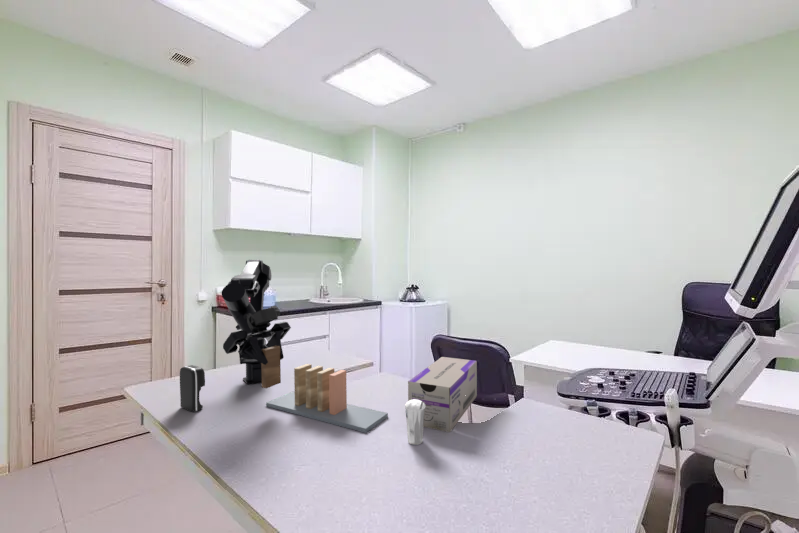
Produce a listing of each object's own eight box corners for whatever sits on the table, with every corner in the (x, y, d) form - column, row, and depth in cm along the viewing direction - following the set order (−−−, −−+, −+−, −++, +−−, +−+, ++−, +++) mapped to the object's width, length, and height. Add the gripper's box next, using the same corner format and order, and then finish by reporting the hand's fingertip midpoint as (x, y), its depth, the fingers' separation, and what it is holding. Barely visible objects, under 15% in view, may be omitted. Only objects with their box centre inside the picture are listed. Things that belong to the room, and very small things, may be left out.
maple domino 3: (317, 410, 99) (317, 372, 98) (330, 404, 103) (329, 367, 103) (322, 412, 98) (321, 373, 98) (334, 405, 102) (334, 368, 102)
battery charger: (207, 408, 103) (206, 366, 103) (193, 413, 100) (192, 370, 100) (193, 403, 107) (192, 362, 107) (179, 407, 104) (178, 366, 103)
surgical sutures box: (450, 432, 89) (450, 387, 88) (408, 424, 93) (408, 381, 93) (476, 397, 111) (476, 360, 111) (442, 391, 116) (441, 356, 115)
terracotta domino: (329, 413, 97) (329, 374, 96) (341, 406, 101) (341, 369, 101) (334, 415, 96) (334, 375, 96) (346, 408, 100) (346, 370, 100)
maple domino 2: (306, 407, 101) (305, 370, 100) (318, 401, 105) (318, 365, 105) (310, 409, 100) (310, 371, 100) (323, 402, 104) (322, 366, 104)
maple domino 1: (294, 405, 103) (294, 368, 102) (307, 398, 107) (307, 363, 107) (299, 406, 102) (298, 369, 102) (312, 399, 106) (311, 364, 106)
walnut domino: (261, 387, 100) (261, 349, 99) (276, 381, 104) (275, 345, 104) (266, 388, 99) (265, 350, 99) (280, 382, 103) (280, 346, 103)
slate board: (266, 406, 104) (266, 402, 104) (292, 394, 113) (292, 391, 113) (365, 432, 88) (365, 428, 88) (387, 416, 97) (387, 413, 97)
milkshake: (413, 450, 80) (413, 403, 80) (401, 439, 85) (401, 395, 85) (431, 445, 82) (431, 399, 82) (418, 435, 87) (418, 391, 87)
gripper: (229, 300, 95) (260, 350, 89) (285, 293, 111) (315, 335, 106) (210, 329, 99) (239, 378, 94) (267, 318, 115) (294, 359, 110)
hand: (274, 361), depth 101 cm, fingers closed on walnut domino, 5 cm apart
